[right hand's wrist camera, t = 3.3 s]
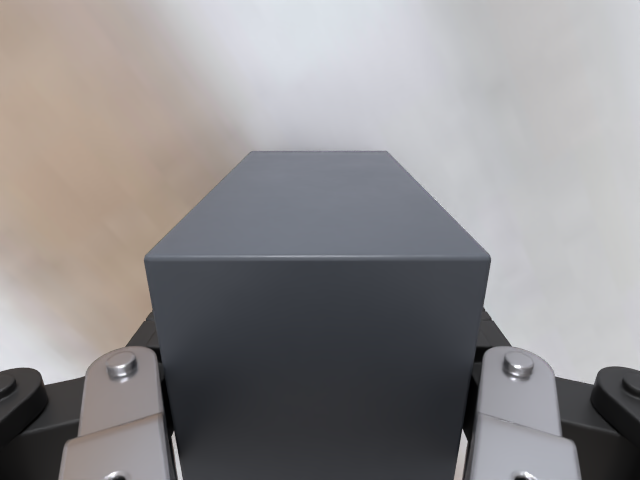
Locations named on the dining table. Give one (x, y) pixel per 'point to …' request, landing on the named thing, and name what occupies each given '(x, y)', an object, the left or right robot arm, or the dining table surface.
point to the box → (317, 322)
